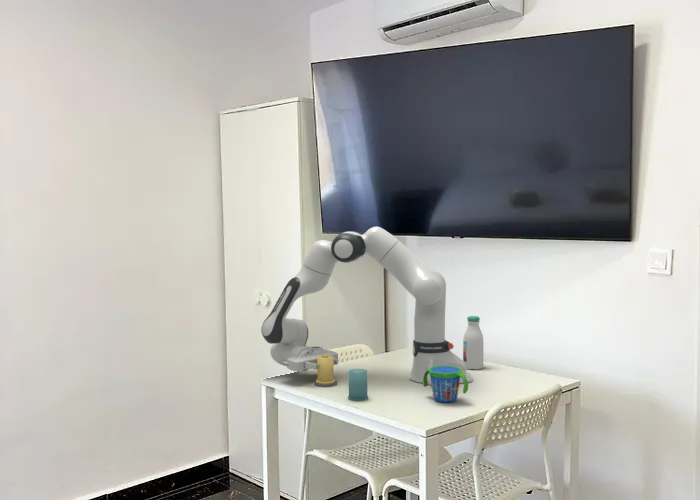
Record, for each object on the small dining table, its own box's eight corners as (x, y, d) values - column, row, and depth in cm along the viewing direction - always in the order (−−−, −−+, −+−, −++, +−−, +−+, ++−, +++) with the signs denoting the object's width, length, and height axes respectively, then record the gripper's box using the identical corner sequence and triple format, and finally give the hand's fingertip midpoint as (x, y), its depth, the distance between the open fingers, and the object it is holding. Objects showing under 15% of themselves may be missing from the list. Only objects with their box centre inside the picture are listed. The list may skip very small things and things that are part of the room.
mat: (336, 380, 252) (336, 378, 252) (337, 386, 244) (337, 384, 244) (313, 381, 252) (313, 379, 252) (313, 387, 243) (313, 385, 243)
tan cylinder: (334, 379, 252) (334, 352, 251) (335, 384, 245) (335, 356, 244) (315, 379, 251) (315, 353, 250) (316, 384, 244) (315, 357, 244)
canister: (367, 394, 233) (366, 368, 233) (369, 400, 227) (368, 373, 226) (347, 395, 233) (347, 368, 232) (348, 401, 226) (348, 373, 226)
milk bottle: (486, 367, 271) (486, 316, 270) (478, 371, 265) (479, 319, 263) (467, 364, 275) (468, 314, 274) (459, 368, 269) (460, 317, 268)
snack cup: (416, 398, 228) (416, 368, 228) (435, 392, 236) (435, 362, 235) (455, 408, 218) (455, 376, 217) (474, 401, 225) (474, 370, 225)
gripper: (279, 354, 250) (303, 360, 240) (323, 345, 263) (347, 351, 253) (279, 371, 250) (303, 378, 240) (323, 362, 264) (348, 368, 254)
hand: (326, 364), depth 247 cm, fingers open, 8 cm apart
